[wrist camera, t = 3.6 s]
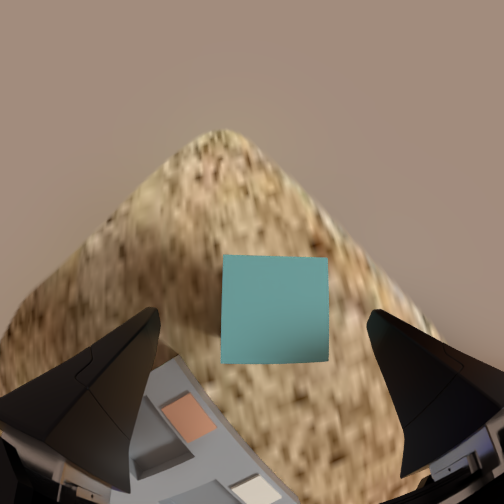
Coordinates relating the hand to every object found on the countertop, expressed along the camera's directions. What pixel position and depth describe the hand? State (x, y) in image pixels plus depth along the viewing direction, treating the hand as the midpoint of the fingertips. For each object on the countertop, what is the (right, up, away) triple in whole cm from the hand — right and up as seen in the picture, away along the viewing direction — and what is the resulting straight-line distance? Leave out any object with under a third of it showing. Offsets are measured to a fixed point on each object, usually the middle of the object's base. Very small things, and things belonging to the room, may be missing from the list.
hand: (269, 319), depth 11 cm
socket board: (-7, -15, +5) cm, 17 cm away
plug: (-1, -2, +9) cm, 9 cm away
